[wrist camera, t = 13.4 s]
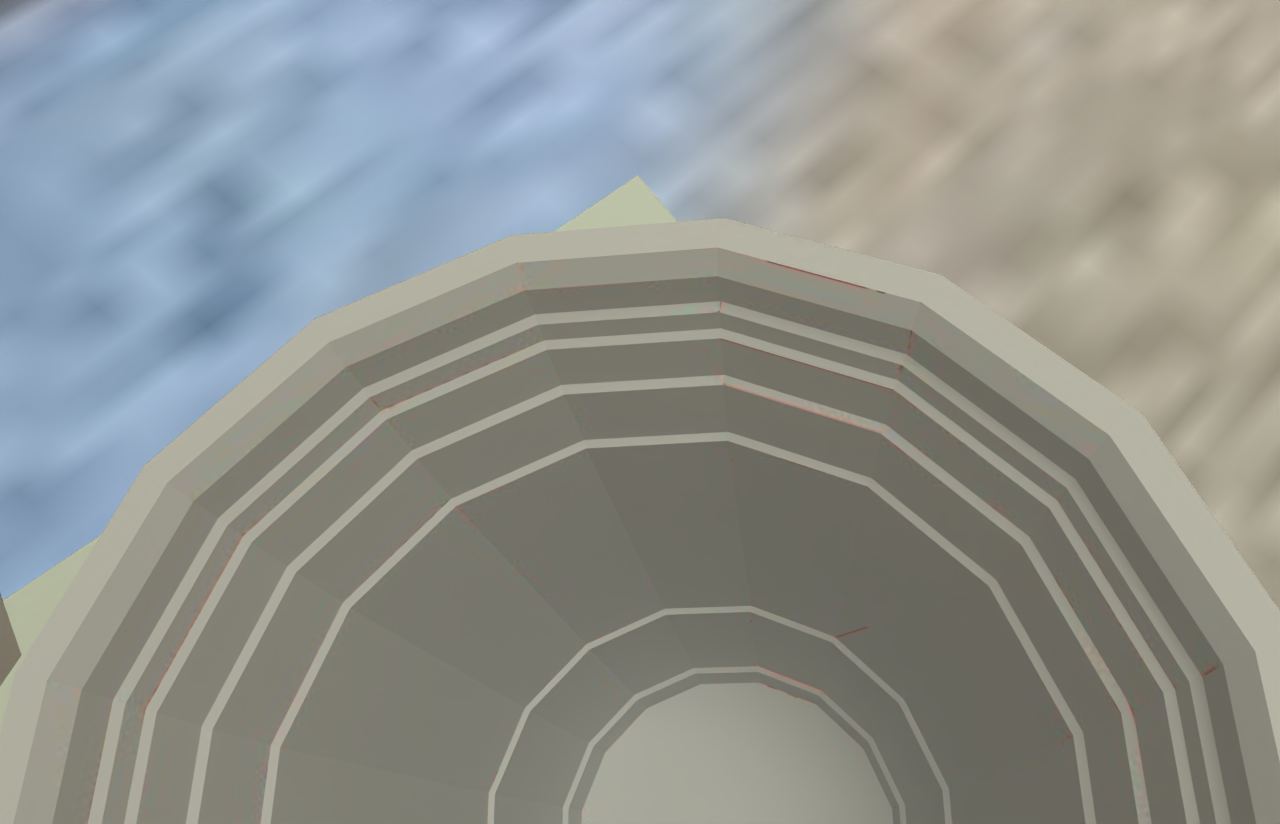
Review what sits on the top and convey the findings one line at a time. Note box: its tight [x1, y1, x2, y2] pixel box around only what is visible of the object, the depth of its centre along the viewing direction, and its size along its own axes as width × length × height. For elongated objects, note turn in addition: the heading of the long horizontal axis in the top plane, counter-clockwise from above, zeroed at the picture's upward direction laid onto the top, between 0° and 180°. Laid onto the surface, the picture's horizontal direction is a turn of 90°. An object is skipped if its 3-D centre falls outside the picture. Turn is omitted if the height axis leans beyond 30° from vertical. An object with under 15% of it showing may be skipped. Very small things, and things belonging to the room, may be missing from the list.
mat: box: [0, 176, 678, 732], centre depth 21 cm, size 16×16×1 cm
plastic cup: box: [0, 218, 1280, 824], centre depth 14 cm, size 11×11×12 cm
